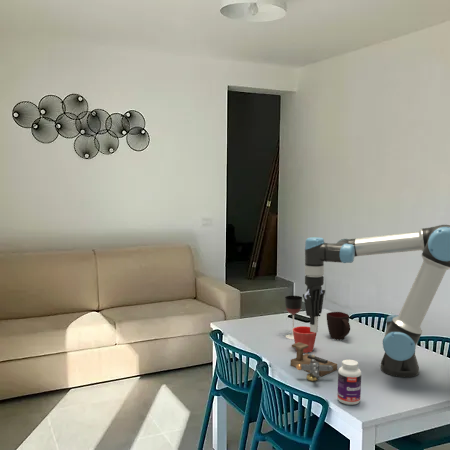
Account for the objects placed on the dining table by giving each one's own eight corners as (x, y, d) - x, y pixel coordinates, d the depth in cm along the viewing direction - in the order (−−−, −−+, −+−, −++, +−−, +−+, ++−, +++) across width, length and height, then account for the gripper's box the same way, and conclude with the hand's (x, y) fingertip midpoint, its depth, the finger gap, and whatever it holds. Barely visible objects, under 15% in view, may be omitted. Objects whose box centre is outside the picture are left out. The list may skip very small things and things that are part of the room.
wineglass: (304, 337, 253) (305, 298, 251) (291, 340, 249) (292, 300, 246) (294, 333, 260) (294, 294, 258) (281, 336, 255) (281, 297, 253)
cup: (339, 334, 259) (340, 311, 258) (356, 342, 246) (357, 318, 245) (323, 336, 255) (323, 313, 254) (339, 345, 242) (339, 320, 241)
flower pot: (316, 355, 229) (316, 334, 228) (291, 353, 231) (292, 332, 230) (316, 347, 239) (317, 327, 238) (293, 345, 241) (293, 325, 240)
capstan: (330, 372, 208) (330, 356, 207) (335, 387, 194) (335, 370, 193) (295, 371, 209) (295, 355, 208) (297, 385, 195) (297, 369, 194)
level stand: (337, 369, 212) (337, 348, 211) (321, 376, 204) (321, 355, 204) (306, 359, 224) (307, 339, 223) (290, 365, 216) (290, 345, 215)
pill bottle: (346, 407, 177) (347, 368, 176) (332, 398, 185) (333, 360, 183) (365, 403, 181) (366, 364, 179) (351, 394, 188) (352, 357, 187)
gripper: (315, 271, 214) (315, 326, 217) (297, 276, 205) (297, 333, 207) (330, 274, 209) (330, 330, 211) (312, 279, 200) (312, 337, 202)
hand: (313, 331), depth 209 cm, fingers closed
